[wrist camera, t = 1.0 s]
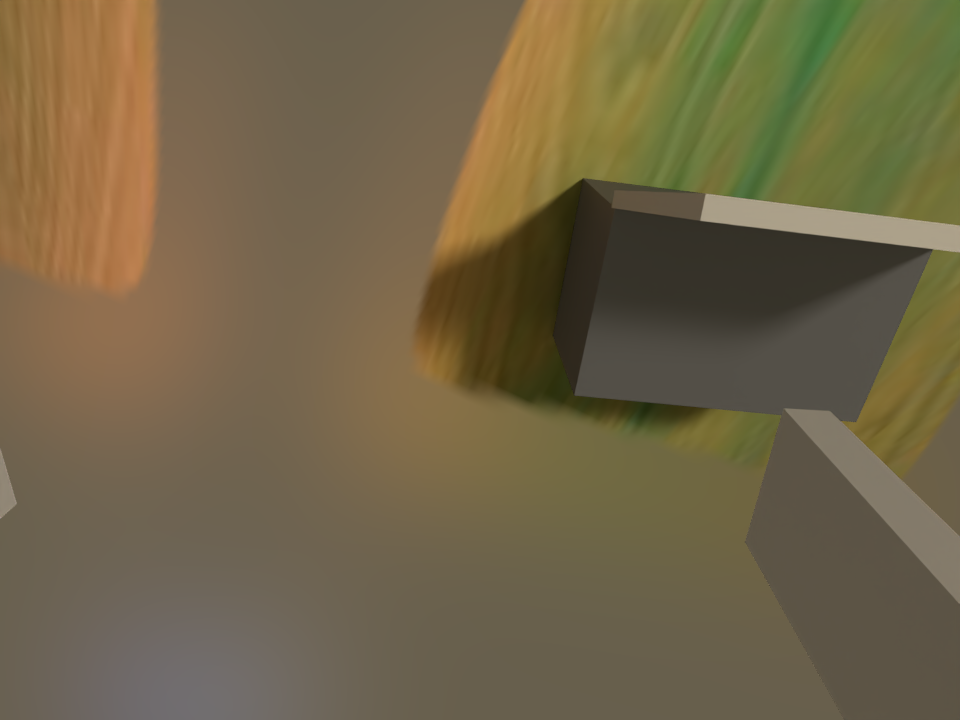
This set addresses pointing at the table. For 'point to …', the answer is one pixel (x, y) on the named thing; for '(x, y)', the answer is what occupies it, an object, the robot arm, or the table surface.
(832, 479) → the robot arm
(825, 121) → the table surface
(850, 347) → the box
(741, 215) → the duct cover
